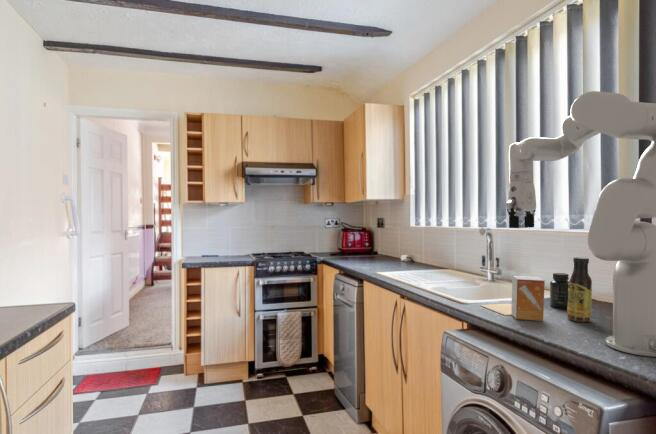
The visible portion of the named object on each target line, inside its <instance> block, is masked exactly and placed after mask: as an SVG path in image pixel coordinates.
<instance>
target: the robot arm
mask: <svg viewBox="0 0 656 434" xmlns="http://www.w3.org/2000/svg"><path fill="white" fill-rule="evenodd" d="M569 114H570V115H568V116H566V117H565V118H564V119H563V121H562V123H561V132H562V134H561V135H560V136H557V137H555V138H553V137H552V138H551V137H534V136H533V137H528V138H527V137H526V138H524V139H523V140H521V141H520V142H514V143H511V144H510V145H509V148H508V171H509V172H508V173H509V176H508V177H509V178H508V180H509V188H508V201H507V202H505V206H506V212H507V215H508V227H509V228H510V229H519V228H520V216H519V213H520V212H521V211H522V212H523V213H524V215H525V216H524V219H523V220H524V224H523V226H524V228H535V215H536V208H537V197H536V188H535V183H534V162H536V161H537V162H540V161H541V162H556V161H560V160H563V159H564V158H567V157H569V156H571V155H573V154H575V153H576V152H578V150H580V148H581V147H582V146H583V144H584V142H585V141H587V140H589V139H592V138H593V137H594V136H597V135H600V134H604V135H606V136H609V137H612V138H617V139H623V140H624V139H625V140H626V139H627V140H647V141H650V142H651V143H650V144H649V146H648V147H647V148H646V149H645V150H644V151H643V153H642V154H641V155H640V158H639V159H638V163H637V166H636V170H635V172H634V175H633V177H626V178H625V177H624V178H623V177H622V178H617V179H615V180H612V181H611V182H609V183H607V185H605V186H604V187H603V189H602V190H601V192H600V193H599V196H598V199H597V201H596V205H595V209H594V211H593V216H592V219H591V222H590V225H589V229H588V235H587V245H588V250H590V252H591V254H592V255H593V256H594V257H595V258H597V259H599V260H602V261H607V262H609V261H610V262H616V264H615V267H614V269H613V275H612V276H613V277H612V335H609V336H607V337H606V338H604V339H605V344H606V345H607V346H608V347H610V348H612V349H614V350H616V351H620V352H623V353H627V354H631V355H635V356H637V355H638V356H642V357H653V358H654V357H656V224H654V223H651V222H646V221H640V220H638V221H636V219H652V218H653V219H655V218H656V103H655V102H641V101H631V100H630V99H629V97H627V96H625V95H624V94H621V93H618V92H610V91H609V92H607V91H597V90H596V91H594V90H592V91H591V90H590V91H587V92H585V93H582V94H580V95H579V96H578V97H577V98H576V99H575V100H574V101H573V103H572V104H571V106H570V111H569Z"/></svg>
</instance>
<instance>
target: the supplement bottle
mask: <svg viewBox="0 0 656 434" xmlns="http://www.w3.org/2000/svg"><path fill="white" fill-rule="evenodd" d="M552 279H553V280H551V281H550V282H549V303H550V304H549V305H550V307H551V308H554V309H559V310H560V309H561V310H567V306H568V283H569V281H570V279H569V274H568V273H563V272H553V273H552Z"/></svg>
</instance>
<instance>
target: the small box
mask: <svg viewBox="0 0 656 434" xmlns="http://www.w3.org/2000/svg"><path fill="white" fill-rule="evenodd" d="M511 277H512V278H511V279H512V280H511V281H512V282H511V284H512V285H511V304H512V315H511V316H513V317H514V319H515V320H523V321H524V320H525V321H526V320H527V321H537V322H539V321H540V322H544V308H545V307H544V306H545V282H546V281H545V280H544V279H543V278H542V277H540V276H530V275H512V276H511Z"/></svg>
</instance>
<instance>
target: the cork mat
mask: <svg viewBox="0 0 656 434" xmlns="http://www.w3.org/2000/svg"><path fill="white" fill-rule="evenodd" d="M479 306H480V307H482V308H484V307H485V308H484V309H487V310H489V311H493V312H494V313H497V314H500V315H502V316H504V317H506V316H507V317H508V316H513V315H512V303H491V304H490V303H489V304H480V305H479Z"/></svg>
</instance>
